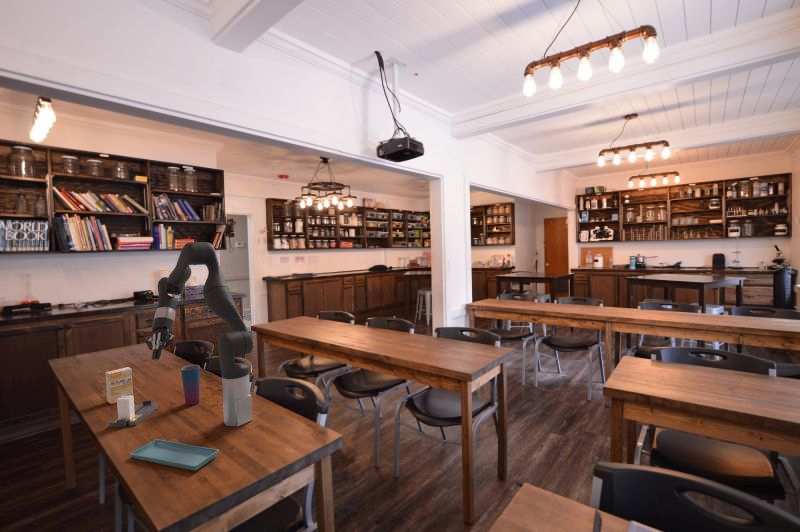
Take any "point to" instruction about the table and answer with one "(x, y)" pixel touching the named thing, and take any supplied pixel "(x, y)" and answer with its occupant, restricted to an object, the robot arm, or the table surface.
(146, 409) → the console
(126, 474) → the table surface
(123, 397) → the fader knob
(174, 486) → the table surface
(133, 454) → the rectangular tray
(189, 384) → the cup
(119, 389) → the supplement box
